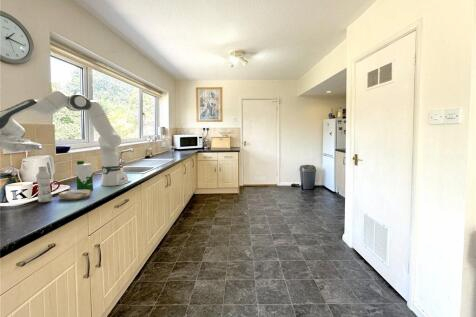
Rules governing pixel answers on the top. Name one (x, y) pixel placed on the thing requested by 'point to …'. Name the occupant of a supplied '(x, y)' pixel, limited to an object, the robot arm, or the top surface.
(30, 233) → the top surface
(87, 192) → the disc
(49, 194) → the plastic bottle
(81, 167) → the milk carton
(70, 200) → the turntable base
